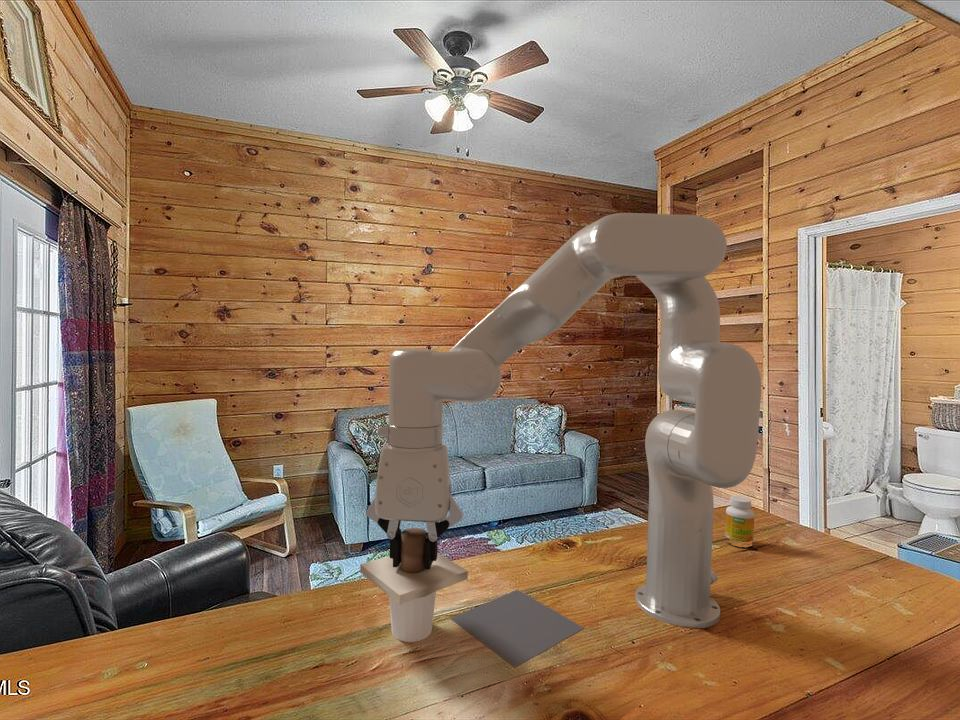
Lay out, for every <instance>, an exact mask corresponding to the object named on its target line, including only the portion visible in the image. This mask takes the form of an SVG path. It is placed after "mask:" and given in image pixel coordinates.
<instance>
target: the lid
mask: <svg viewBox="0 0 960 720" xmlns="http://www.w3.org/2000/svg"><path fill="white" fill-rule="evenodd" d="M401 531H402V532H401V563H400V565H399V566H397V567H393V558H390V555H387V556H383V557H380V558H377V559H373V560H370V561H367V562H363V563H361V564H360V566H359V567H360V569H359V570H360V571H359V572H360V574H361V575H363V576H364V577H365V578H367V579H368V580H369V581H370V582H372V584H374V585H375V586H376V587H377V588H379V589H380V590H381V591H382V592H384V593H385V594H386V595H387V596H388V597H389V596H390V597H391V598H392V599H393V600H395V601H396V602H397V603H398V604H399V605H400V604H403V603H406V602H408V601H411V600H414V599H416V598H419V597H421V596H424V595H427V594H429V593H432V592H435V591H436V592H437V591H440V590H442V589H444V588H445V589H446V588H447V587H451V586H453V585H456V584H458V583H461V582H464V581H467V580H468V576H469V575H468V570H467V569H465V568H463V567H462V566H460V565H458V564H457V563H455V562H454V561H452V560H450V559H448V558H447V557H445V556H444V555H442V554H440V553H439V552H437V560H436V561H433V563H432V565H431V567H430V569H426V568H425V567H424V566H425V541H426V539H427V535H428V531H426V530H425V529H423V528H418V527H414V528H413V527H411V528H406V529H403V530H401Z"/></svg>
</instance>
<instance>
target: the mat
mask: <svg viewBox="0 0 960 720" xmlns="http://www.w3.org/2000/svg"><path fill="white" fill-rule="evenodd" d="M449 619H450V620H451V621H452V622H453V623H455V624H456V625H458V626H459V627H461V628H462V629H463V630H464V631H466V632H467V633H469V635H471V636H472V637H474V638H475V639H476V640H478V641H479V642H481V643H482V644H483V645H484V646H485V647H487V648H489V649H490V650H491V651H493V652H494V653H495V654H496V655H498V656H499V657H500V658H502V659H503V660H505V661H506V662H508V664H510V665H511V666H512V667H514V668H517V667H518V666H520V665H522V664H523V663H526V662H527V661H529V660H531V659H533V658H534V657H536V656H539V654H542V653H543V652H545V651H547V650H549V649H551V648H552V647H554V646H556V645H558V644H560V643H561V642H562V641H565V640H567V639H568V638H570V637H572V636H573V635H575V634H577V633H579V632H581V631H582V630H584V629H585V627H584V626H581V625H580V624H578V623H576V621H575V622H574V621H573V620H571V619H570V618H567V617H566V616H564V615H563V614H561V613H559V612H557V611H555V610H554V609H552V608H550V607H549V606H547V605H545V604H544V603H542V602H540V601H538V600H536V599H534V598H533V597H531V596H529V595H528V594H527V593H526V594H525V593H524V592H522V591H521V590H519V589H515V590H514V591H511V592H509V593H506V594H504V595H502V596H499V597H497V598H495V599H492V600H489V601H488V602H485V603H482V604H480V605H478V606H476V607H474V608H471V609H469V610H466V611H464V612H461V613H459V614H457V615H454V616H452V617H450V618H449Z"/></svg>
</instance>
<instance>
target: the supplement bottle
mask: <svg viewBox="0 0 960 720" xmlns="http://www.w3.org/2000/svg"><path fill="white" fill-rule="evenodd" d="M729 504H730V505H729V506H727V507H726V508H725V509H726V510H725V525H724V526H725V527H724V537H725V536H726V537H727V538H729V539H731V540H735V541H741V542H750V541H753V542H754V534H755V533H754V532H755V531H754V530H755V512H754V511H753V510H752V509H751V507H752V499H750V498H749V497H745V496H739V495H731V496H730V497H729Z"/></svg>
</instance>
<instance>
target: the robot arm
mask: <svg viewBox="0 0 960 720" xmlns="http://www.w3.org/2000/svg"><path fill="white" fill-rule="evenodd" d="M727 247H728V245H727V238H726V234H725V233H724V231H723V229H722V228H721V227H720V226H719V224H718V223H716V222H715V221H714V220H712V219H710V218H708V217H704V216H701V215H695V214H693V215H692V214H672V213H670V214H668V213H647V212H646V213H644V212H642V213H641V212H639V213H638V212H620V213H612V214H608V215H605V216H603V217H601V218H599V219H598V220H595V221H594V222H592V223H590V224H588V225H586V226H584V227H583V228H582V229H580V230H579V231H577V232H576V233H575V234H573V235H572V236H571V237H570V238H569V239H568V240H567V241H566V242H564V243H563V245H562V246H561V247H559V248H558V249H557V250H556V251H555V252H554V253H553V254H552V255H551V256H550V257H549V258H547V260H545V262H544V263H542V265H540V266H539V268H537V269H536V271H534V272H533V273H532V274H531V275H530V276H528V278H527V279H525V280H524V282H522V283H521V284H520V285H519V286H518V287H517V288H515V290H514V291H512V292H511V293H510V294H509V295H508V296H507V297H505V299H503V301H501V303H499V305H498V306H497V307H496V308H494V309H493V310H492V311H491V312H490V313H488V314H487V315H486V316H485V317H484V318H483V319H482V320H480V321H479V323H478V324H476V325H475V326H474V327H473V328H472V329H471V330H469V331H468V332H467V333H466V334H465V335H464V336H463V337H462V338H461V339H460V340H459V341H458V342H457V343H456V344H455V345H453V347H452V348H451V349H449V350H448V351H439V350H438V351H437V350H436V349H428V348H427V349H425V348H403V349H402V348H401V349H396V350H394V351H392V353H391V354H390V356H389V365H388V372H389V373H388V424H387V425H385V426H379V428H378V430H377V431H378V432H377V433H378V437H383V438H385V439H386V443H387V444H385V445H383V446H382V448H381V451H380V456H379V460H378V467H377V468H378V470H377V477H376V488H375V498H374V499H373V501H372V502H371V503H370V505H369V506H368V508H367V509H366V511H365V516H366V517H367V518H369V519H370V520H372V521H373V522H375V523H377V524H378V526H379V527H380V528H381V530H382V531H384V533H385V534H386V537H387V539H389V556H390V558H393V567H397V566H399V565H400V563H401V532H402V531H403V530H402V529H401V525H402V521H403V522H415V523H416V522H419V523H420V522H421V523H425V524H426V529H427V539H426V541H425V566H424V567H425V568H426V569H430V567H431V565H432V563H433V561H436V560H437V553H438V546H439V545H438V540H439V539H438V538H439V537H440V536H442V534H444V533H445V532H446V531H447V530H448V529H449V528H450V527H453V526H454V525H457V524H458V523H460V522H461V521H462V520H463V517H464V515H463V512H462V510H461V509H460V507H459V506H458V503H457V502H456V500H455V498H454V497H453V496H452V486H451V485H452V484H451V471H450V462H449V461H450V459H449V455H448V453H449V452H448V449H447V446H446V444H443V408H444V406H443V403H444V402H443V401H444V400H445V401H453V402H458V403H459V402H460V403H467V404H477V403H482V402H484V401H487V400H490V398H491V397H492V396H494V395H495V394H496V392H497V391H498V390H499V388H500V386H501V382H502V371H501V366H502V365H503V364H504V363H505V362H506V361H508V359H510V358H511V357H512V356H514V355H515V354H516V353H517V352H518V351H520V350H522V349H523V348H525V347H527V346H528V345H531V344H532V343H534V342H537V341H539V340H541V339H544V338H545V337H548V336H549V335H551V334H553V333H554V332H556V331H558V330H559V329H560V328H562V326H564V324H566V323H567V322H568V321H569V320H570V319H571V317H573V316H574V314H575V313H576V312H577V311H578V310H580V309H581V308H582V307H583V306H584V305H585V304H586V303H587V302H588V301H589V300H590V299H591V298H592V297H593V296H594V295H595V294H596V293H598V291H599V290H601V289H602V287H604V286H605V285H606V284H607V283H608V282H609V281H610V280H612V279H616V278H620V277H624V276H627V277H628V276H631V277H633V276H635V277H636V278H637V279H638V280H639V281H640V282H641V283H643V284H644V285H645V286H646V287H647V288H648V289H649V290H650V292H652V293H653V296H654V297H655V299H656V300H657V302H658V305H659V308H660V315H661V316H660V317H661V318H660V319H661V321H660V323H661V325H660V326H661V328H660V344H659V355H658V357H659V358H658V374H657V375H658V384H659V387H660V389H661V391H662V392H663V393H664V395H666V396H668V397H669V398H671V399H672V400H675V401H679V402H682V403H686V404H690V405H695V410H694V411H690V410H686V409H685V410H684V409H669V410H666V411H663V412H661V413H659V414H657V415H656V416H655V417H654V418H653V419H652V420H651V422H650V423H649V425H648V427H647V429H646V433H645V439H644V447H645V454H646V455H645V456H646V461H647V463H646V464H647V468H648V469H647V470H648V484H649V486H648V487H649V488H648V489H649V490H648V492H649V493H648V512H647V515H648V516H647V543H646V545H647V546H646V570H645V571H646V575H645V576H646V577H645V583H643V584H642V585H641V586H639V587H637V589H636V590H635V602H636V604H637V606H638V607H639V608H640V609H641V610H642V611H643V612H644V613H646V614H647V615H649V616H650V617H652V618H654V619H656V620H658V621H661V622H663V623H666V624H668V625H672V626H676V627H681V628H689V629H691V628H692V629H693V628H694V629H697V628H698V629H700V628H702V629H706V627H707V628H710V627H709V626H711V627H713V626H715V625H716V624H717V623H718V622H719V621H720V619H721V607H720V605H719V604H718V603H717V601H716V600H715V599H714V598H713V597H712V596H711V586H712V585H713V584H714V583H716V582H717V581H718V575H717V573H716V572H715V571H714V570H712V555H713V554H712V553H713V552H712V551H713V530H714V528H713V527H714V513H715V512H714V511H715V510H714V507H715V506H714V505H715V503H714V494H713V488H718V489H729V488H733V487H737V486H738V485H740V484H741V483H743V482H744V481H745V480H746V479H747V478H748V476H749V475H750V473H751V472H752V469H753V468H754V465H755V462H756V458H757V456H756V455H757V451H758V450H757V449H758V439H759V426H760V413H761V399H762V378H761V372H760V369H759V366H758V364H757V362H756V360H755V359H754V357H753V356H752V354H751V353H750V352H749V351H748V350H747V349H745V348H743V347H742V346H740V345H738V344H734V343H730V342H721V340H720V339H721V337H720V336H721V335H720V334H721V309H720V302H719V299H718V296H717V294H716V291H715V290H714V288H713V286H712V284H711V283H710V282H709V280H708V279H707V278H706V277H707V276H709V275H711V274H712V273H714V272H715V271H716V270H717V269H719V267H720V266H721V265H722V263H723V262H724V260H725V257H726V254H727ZM712 487H713V488H712ZM448 514H449V515H448ZM719 618H720V619H719ZM718 620H719V621H718ZM715 623H716V624H715ZM714 624H715V625H714ZM712 625H713V626H712Z"/></svg>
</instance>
